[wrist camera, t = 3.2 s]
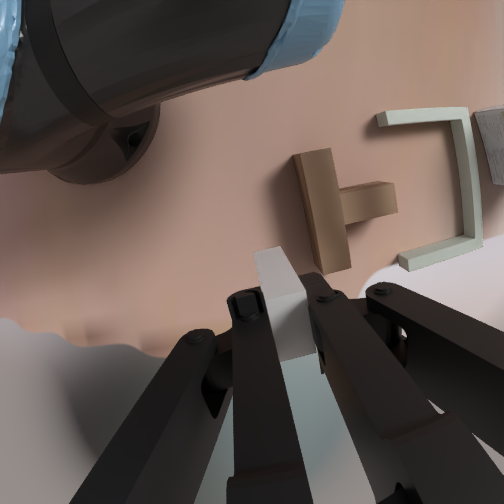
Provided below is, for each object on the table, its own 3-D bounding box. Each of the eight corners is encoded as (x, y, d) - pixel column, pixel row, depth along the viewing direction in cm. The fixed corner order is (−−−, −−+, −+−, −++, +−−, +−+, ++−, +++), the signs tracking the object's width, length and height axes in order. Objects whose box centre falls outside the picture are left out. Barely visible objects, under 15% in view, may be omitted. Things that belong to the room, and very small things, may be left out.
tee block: (314, 263, 35) (323, 275, 31) (292, 155, 32) (299, 153, 28) (386, 244, 35) (402, 253, 31) (370, 141, 31) (385, 139, 28)
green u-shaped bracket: (399, 265, 35) (408, 271, 33) (375, 114, 31) (385, 111, 28) (471, 242, 35) (482, 247, 33) (455, 109, 31) (467, 106, 28)
